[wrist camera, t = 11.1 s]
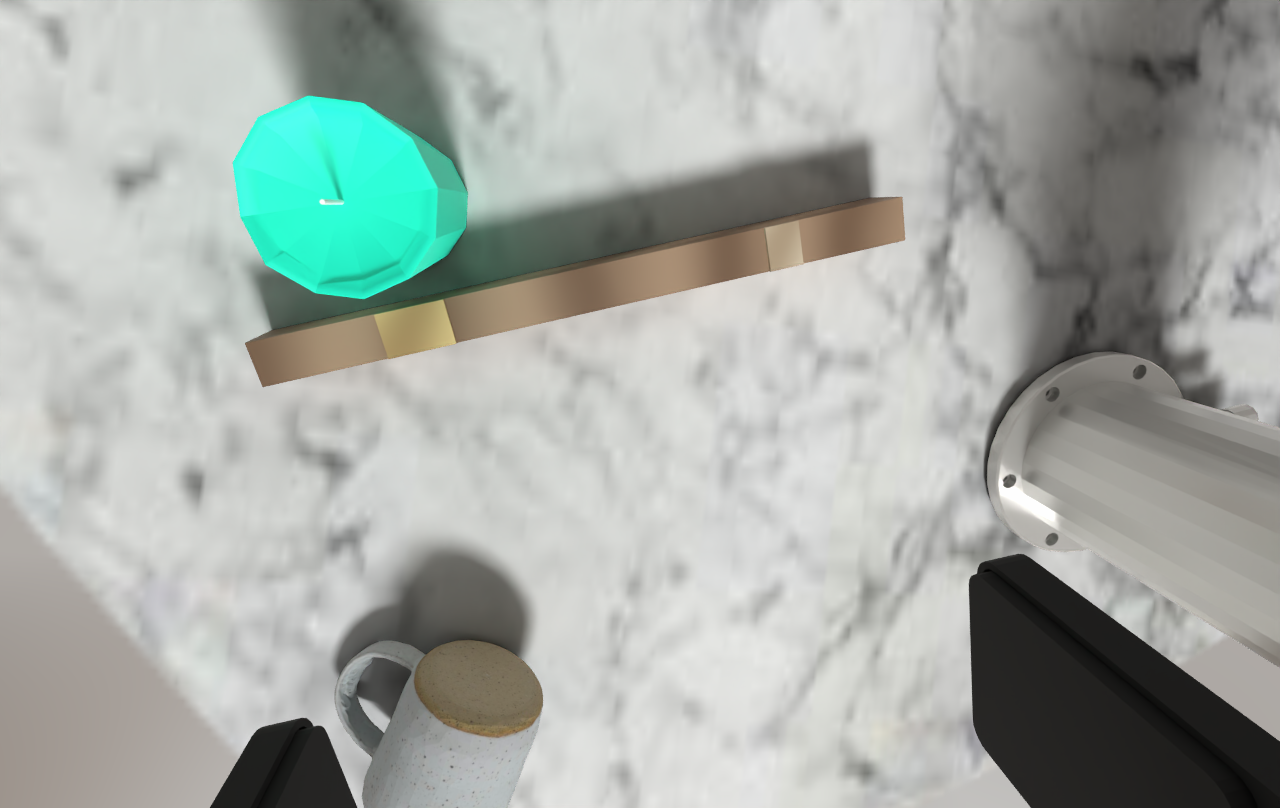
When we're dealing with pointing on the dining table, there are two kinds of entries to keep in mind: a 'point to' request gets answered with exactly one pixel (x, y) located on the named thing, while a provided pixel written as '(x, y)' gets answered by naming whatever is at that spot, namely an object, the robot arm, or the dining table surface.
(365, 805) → the ceramic mug
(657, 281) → the rail
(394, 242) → the candle
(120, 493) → the dining table surface
